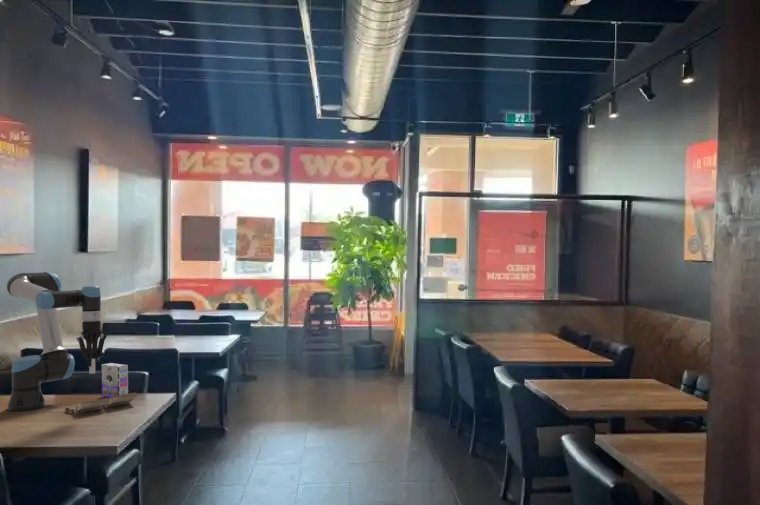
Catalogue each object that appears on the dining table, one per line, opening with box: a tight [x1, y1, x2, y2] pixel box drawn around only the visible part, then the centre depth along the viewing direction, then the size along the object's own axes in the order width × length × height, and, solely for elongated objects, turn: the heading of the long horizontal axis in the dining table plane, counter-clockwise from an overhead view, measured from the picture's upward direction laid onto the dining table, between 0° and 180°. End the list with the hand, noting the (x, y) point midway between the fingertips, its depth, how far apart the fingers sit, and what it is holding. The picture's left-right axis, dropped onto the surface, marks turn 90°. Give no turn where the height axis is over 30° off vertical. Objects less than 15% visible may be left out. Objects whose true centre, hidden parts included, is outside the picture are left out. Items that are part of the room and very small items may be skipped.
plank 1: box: [74, 397, 109, 415], centre depth 283 cm, size 8×12×2 cm
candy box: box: [100, 362, 129, 399], centre depth 313 cm, size 14×6×16 cm, turn 58°
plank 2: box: [104, 392, 138, 409], centre depth 294 cm, size 8×12×2 cm
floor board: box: [64, 398, 110, 415], centre depth 293 cm, size 8×27×2 cm, turn 141°
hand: (92, 373), depth 283 cm, fingers closed
